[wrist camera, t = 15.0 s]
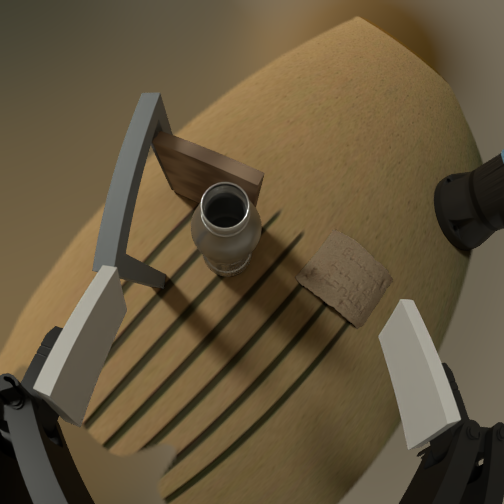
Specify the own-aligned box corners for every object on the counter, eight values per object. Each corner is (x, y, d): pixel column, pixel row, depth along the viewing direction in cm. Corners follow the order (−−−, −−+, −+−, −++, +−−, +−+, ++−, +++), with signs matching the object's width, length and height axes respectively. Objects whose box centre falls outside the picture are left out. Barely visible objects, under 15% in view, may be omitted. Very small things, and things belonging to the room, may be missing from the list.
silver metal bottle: (247, 228, 40) (262, 159, 21) (253, 275, 39) (277, 245, 20) (202, 234, 40) (177, 168, 20) (207, 281, 39) (184, 256, 19)
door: (168, 189, 40) (144, 138, 26) (177, 174, 41) (158, 119, 27) (248, 226, 40) (257, 185, 26) (256, 210, 40) (269, 163, 27)
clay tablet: (393, 282, 41) (402, 280, 39) (361, 335, 39) (369, 336, 37) (326, 225, 42) (332, 220, 39) (288, 277, 40) (292, 275, 38)
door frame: (183, 170, 41) (160, 92, 24) (163, 288, 38) (113, 274, 20) (171, 169, 41) (142, 93, 24) (150, 286, 38) (92, 270, 20)
